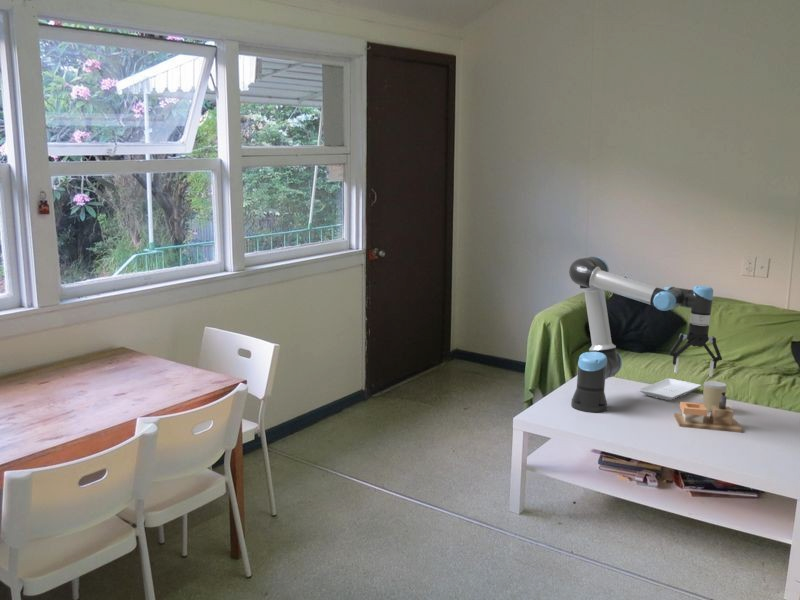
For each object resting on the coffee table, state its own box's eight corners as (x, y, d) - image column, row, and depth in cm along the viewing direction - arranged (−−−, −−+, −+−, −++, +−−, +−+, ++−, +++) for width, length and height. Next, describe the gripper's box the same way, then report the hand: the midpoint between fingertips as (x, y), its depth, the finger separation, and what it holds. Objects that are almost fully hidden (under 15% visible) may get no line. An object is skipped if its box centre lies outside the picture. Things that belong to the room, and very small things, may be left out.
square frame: (683, 413, 298) (684, 408, 298) (679, 407, 307) (680, 401, 306) (706, 415, 296) (707, 410, 296) (702, 409, 305) (703, 403, 304)
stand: (679, 426, 297) (682, 397, 295) (674, 415, 310) (676, 387, 308) (742, 432, 292) (746, 403, 290) (734, 421, 305) (737, 393, 303)
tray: (637, 396, 339) (637, 388, 338) (667, 384, 361) (668, 377, 360) (672, 404, 327) (673, 397, 326) (701, 391, 349) (702, 384, 348)
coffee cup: (726, 414, 315) (729, 387, 313) (703, 412, 317) (706, 385, 315) (721, 407, 324) (724, 381, 322) (698, 405, 326) (701, 379, 324)
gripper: (668, 322, 297) (662, 373, 301) (734, 328, 292) (727, 380, 296) (666, 319, 304) (660, 368, 308) (730, 325, 299) (723, 375, 303)
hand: (692, 374), depth 302 cm, fingers open, 13 cm apart
